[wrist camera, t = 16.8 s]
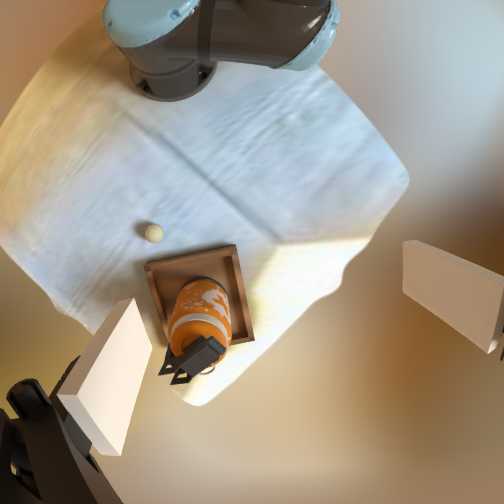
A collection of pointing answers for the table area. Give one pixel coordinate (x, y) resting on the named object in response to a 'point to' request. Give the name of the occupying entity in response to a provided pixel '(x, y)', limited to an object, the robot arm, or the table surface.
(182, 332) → the canister
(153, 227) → the ball
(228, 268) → the tray
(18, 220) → the table surface
